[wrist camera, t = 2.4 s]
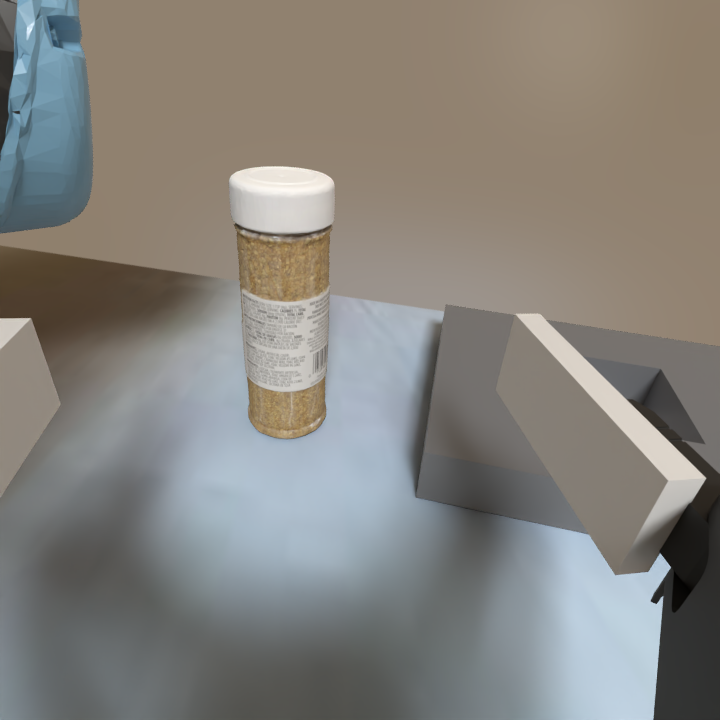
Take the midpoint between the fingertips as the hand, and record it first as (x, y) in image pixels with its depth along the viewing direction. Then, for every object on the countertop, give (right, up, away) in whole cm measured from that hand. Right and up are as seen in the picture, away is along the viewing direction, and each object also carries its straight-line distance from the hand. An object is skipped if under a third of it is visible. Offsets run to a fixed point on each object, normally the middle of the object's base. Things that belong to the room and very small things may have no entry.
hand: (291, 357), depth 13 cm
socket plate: (+16, -4, +15) cm, 22 cm away
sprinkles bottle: (-2, -4, +14) cm, 15 cm away
